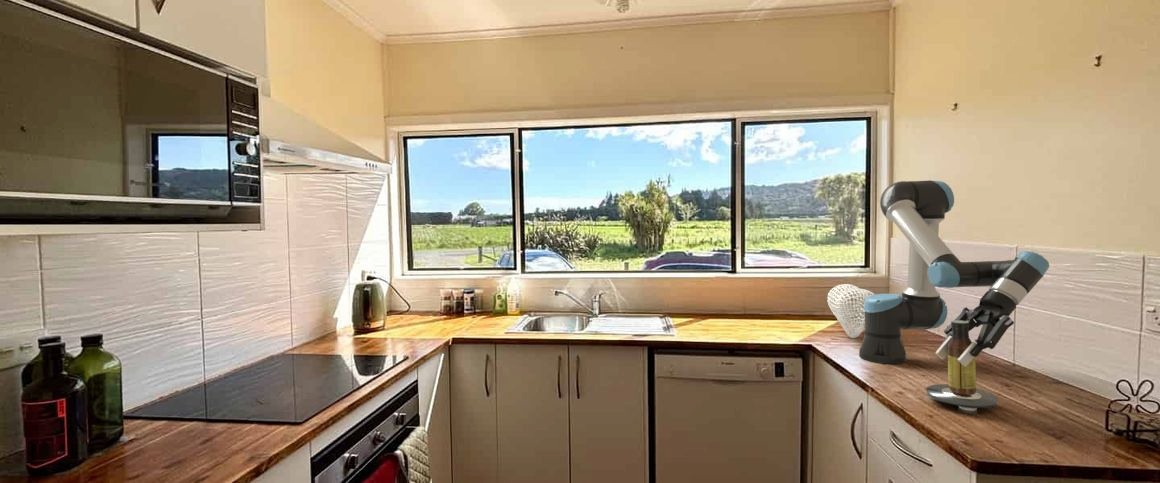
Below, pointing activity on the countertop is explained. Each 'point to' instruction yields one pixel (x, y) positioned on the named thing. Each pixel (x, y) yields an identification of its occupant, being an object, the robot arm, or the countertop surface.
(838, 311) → the heart
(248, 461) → the countertop surface
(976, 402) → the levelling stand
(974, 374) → the sauce bottle
